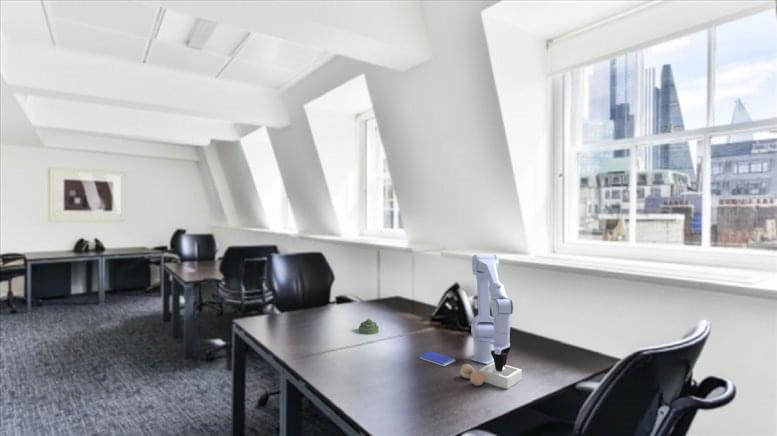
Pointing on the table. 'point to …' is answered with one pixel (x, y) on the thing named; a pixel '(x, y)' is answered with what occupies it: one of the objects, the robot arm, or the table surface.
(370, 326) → the decorative artifact
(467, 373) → the light oak ball
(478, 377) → the terracotta ball
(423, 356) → the hard drive
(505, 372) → the steel ball
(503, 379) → the off-white bin
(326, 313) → the table surface
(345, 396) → the table surface
